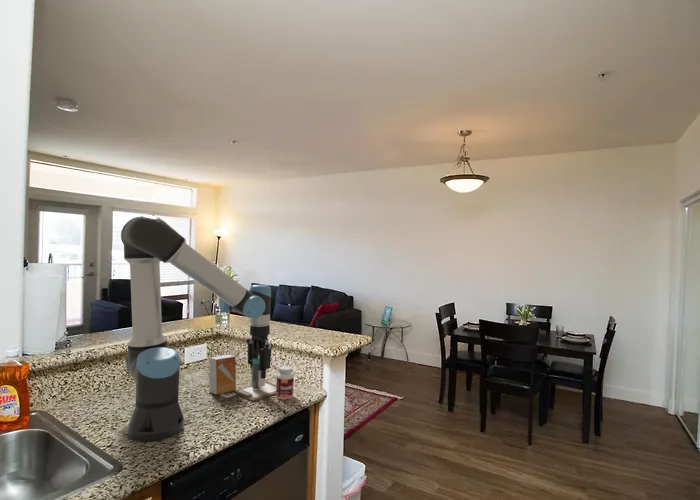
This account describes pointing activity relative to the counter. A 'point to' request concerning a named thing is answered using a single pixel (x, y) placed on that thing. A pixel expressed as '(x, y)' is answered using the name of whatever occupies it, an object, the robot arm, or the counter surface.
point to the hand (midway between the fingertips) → (258, 384)
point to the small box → (222, 374)
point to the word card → (228, 394)
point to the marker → (255, 374)
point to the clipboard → (257, 392)
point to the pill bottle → (284, 383)
